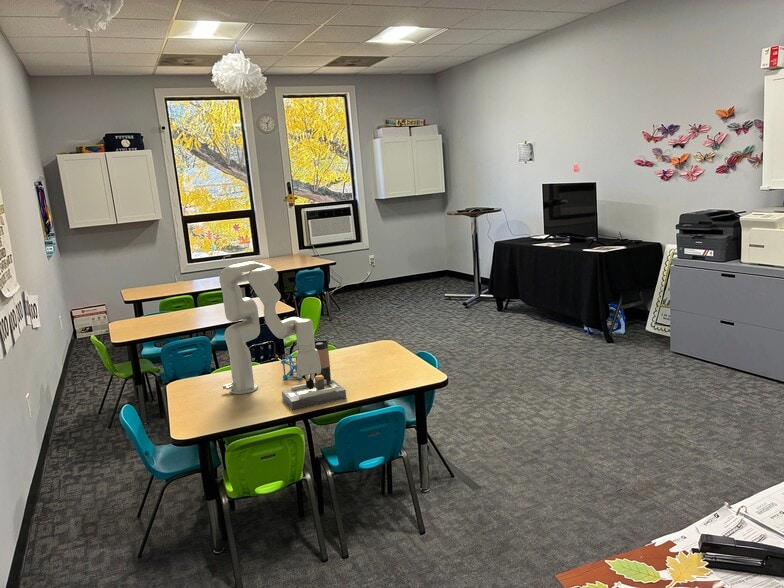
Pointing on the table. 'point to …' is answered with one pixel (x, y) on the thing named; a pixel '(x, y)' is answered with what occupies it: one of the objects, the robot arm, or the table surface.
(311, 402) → the switch panel
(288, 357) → the molecular structure
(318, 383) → the switch handle
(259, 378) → the table surface
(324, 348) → the travel mug
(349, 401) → the table surface
